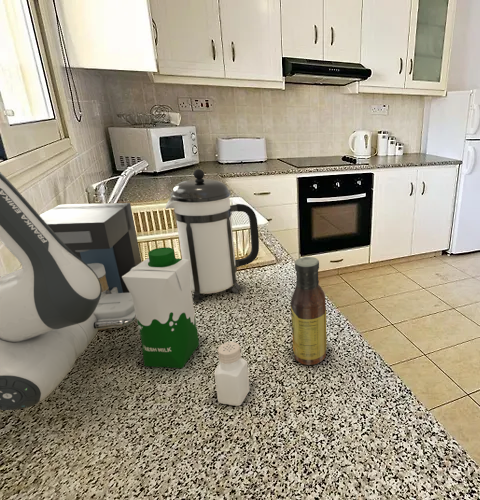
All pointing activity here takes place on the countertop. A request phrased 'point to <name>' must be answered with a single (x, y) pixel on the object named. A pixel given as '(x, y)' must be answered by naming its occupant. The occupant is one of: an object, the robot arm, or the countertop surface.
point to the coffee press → (209, 234)
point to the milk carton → (164, 308)
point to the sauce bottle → (308, 314)
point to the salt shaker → (231, 375)
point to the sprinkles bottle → (100, 277)
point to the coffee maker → (99, 236)
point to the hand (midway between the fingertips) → (98, 291)
